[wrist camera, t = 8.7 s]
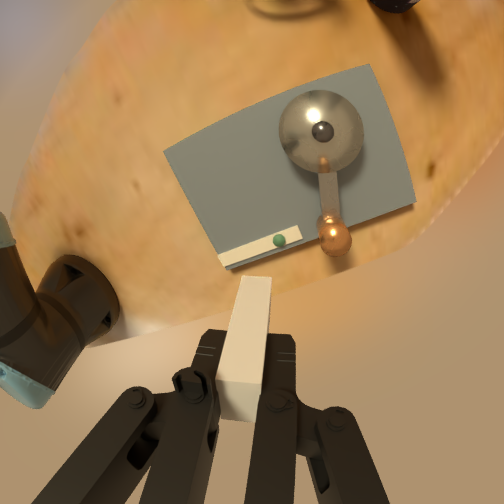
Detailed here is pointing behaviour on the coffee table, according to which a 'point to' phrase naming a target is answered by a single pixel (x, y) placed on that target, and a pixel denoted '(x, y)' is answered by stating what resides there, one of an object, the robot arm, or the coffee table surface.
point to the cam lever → (323, 154)
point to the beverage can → (394, 5)
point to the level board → (286, 173)
